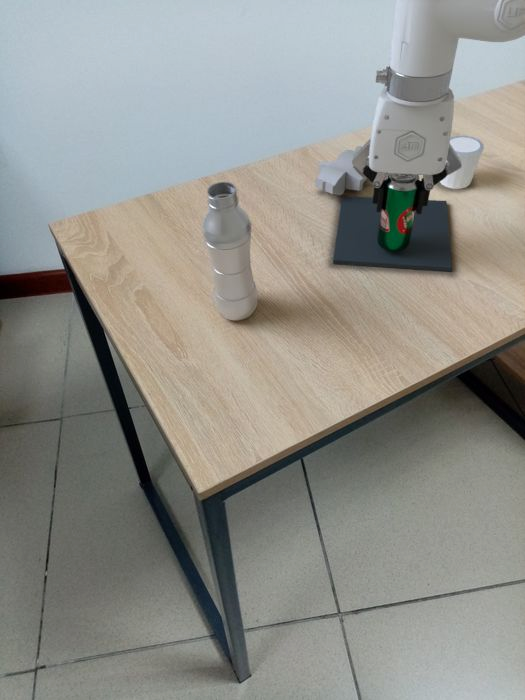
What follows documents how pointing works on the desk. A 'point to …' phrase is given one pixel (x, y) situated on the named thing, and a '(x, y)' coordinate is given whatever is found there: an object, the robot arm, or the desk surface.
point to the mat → (363, 249)
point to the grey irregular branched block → (340, 174)
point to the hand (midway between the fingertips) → (398, 206)
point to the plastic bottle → (229, 252)
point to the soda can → (398, 211)
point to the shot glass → (464, 161)
